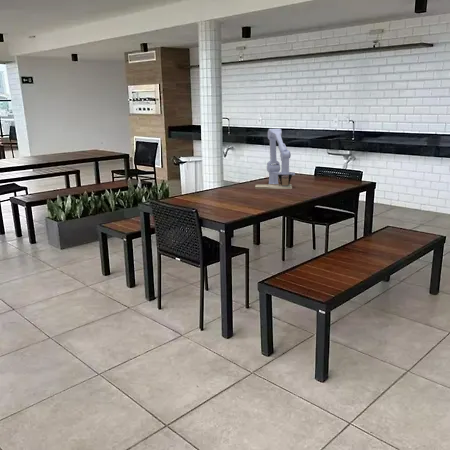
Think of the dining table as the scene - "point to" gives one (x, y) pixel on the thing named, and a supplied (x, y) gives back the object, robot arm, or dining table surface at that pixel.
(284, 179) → the eraser block
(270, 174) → the robot arm
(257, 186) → the birch board
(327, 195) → the dining table surface
